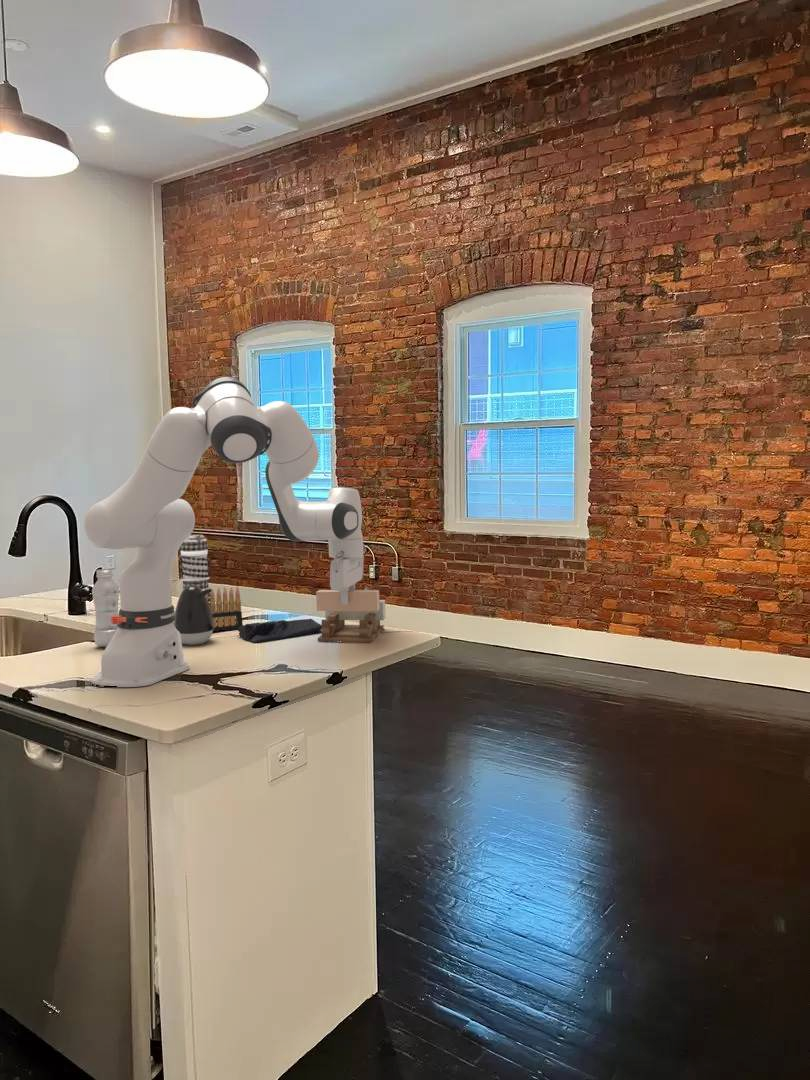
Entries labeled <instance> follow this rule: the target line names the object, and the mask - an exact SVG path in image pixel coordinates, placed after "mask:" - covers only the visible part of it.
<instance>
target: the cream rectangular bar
mask: <svg viewBox="0 0 810 1080" xmlns="http://www.w3.org/2000/svg"><path fill="white" fill-rule="evenodd" d="M379 604H380V609H379V610H378V611H324V612H325V614H324V615H325V620H327V616H328V615H330V614H331V613H339V620H345V621H360V620H364V616H366V615H367V614H368V613H374V614H375V620H380V621H384V620H386V618H387V617H386V599H379Z"/></svg>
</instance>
